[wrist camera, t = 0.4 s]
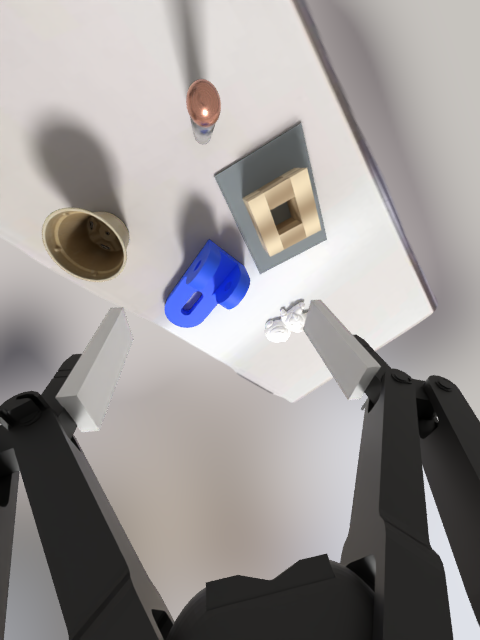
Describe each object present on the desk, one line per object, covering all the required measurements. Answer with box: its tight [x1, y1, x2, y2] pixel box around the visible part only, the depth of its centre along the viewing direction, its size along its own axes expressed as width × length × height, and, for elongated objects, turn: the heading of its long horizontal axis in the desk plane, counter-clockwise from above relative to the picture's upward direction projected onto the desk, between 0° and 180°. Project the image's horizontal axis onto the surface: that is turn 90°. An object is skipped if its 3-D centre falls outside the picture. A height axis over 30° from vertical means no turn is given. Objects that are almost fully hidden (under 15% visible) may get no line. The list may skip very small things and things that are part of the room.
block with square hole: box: [242, 168, 321, 257], centre depth 34 cm, size 9×9×5 cm
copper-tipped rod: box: [186, 79, 221, 144], centre depth 22 cm, size 3×3×17 cm
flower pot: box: [42, 208, 129, 282], centre depth 31 cm, size 9×9×9 cm
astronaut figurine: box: [265, 302, 308, 342], centre depth 50 cm, size 9×12×3 cm
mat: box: [215, 123, 327, 274], centre depth 36 cm, size 18×14×1 cm
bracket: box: [165, 239, 250, 328], centre depth 39 cm, size 18×8×9 cm, turn 140°
